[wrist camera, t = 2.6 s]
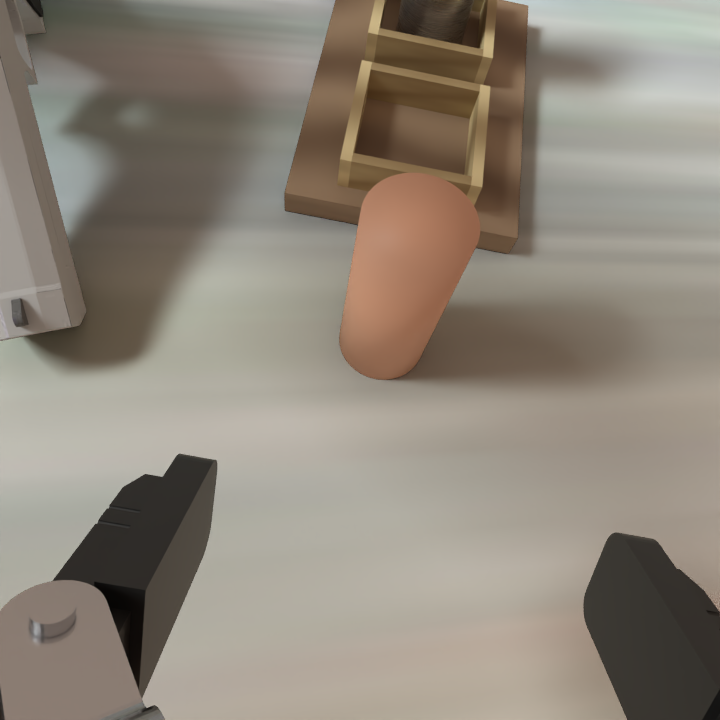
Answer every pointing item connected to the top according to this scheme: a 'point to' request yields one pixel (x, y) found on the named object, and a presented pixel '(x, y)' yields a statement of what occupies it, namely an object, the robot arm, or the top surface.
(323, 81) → the wooden compartment tray
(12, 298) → the handgun
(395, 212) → the pin
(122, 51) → the top surface
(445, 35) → the pin
